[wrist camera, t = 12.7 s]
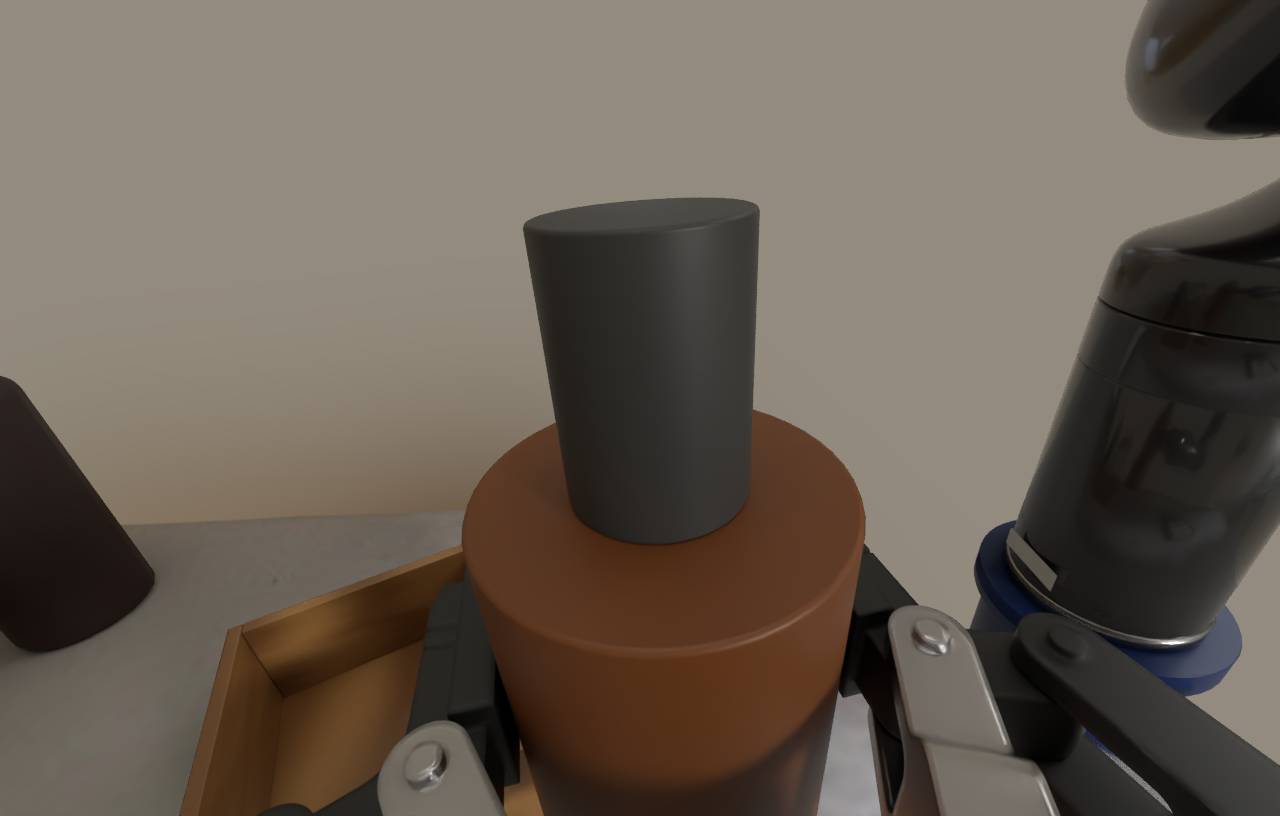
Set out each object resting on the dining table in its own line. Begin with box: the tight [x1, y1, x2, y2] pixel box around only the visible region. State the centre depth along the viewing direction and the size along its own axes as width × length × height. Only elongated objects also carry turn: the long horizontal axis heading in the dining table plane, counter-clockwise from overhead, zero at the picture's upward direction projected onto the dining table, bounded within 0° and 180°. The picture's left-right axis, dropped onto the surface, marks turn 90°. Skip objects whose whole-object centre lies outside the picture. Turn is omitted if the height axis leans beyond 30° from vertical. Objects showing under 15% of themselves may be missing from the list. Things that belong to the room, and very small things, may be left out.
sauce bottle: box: [462, 198, 866, 816], centre depth 10 cm, size 6×6×18 cm
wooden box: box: [179, 545, 544, 816], centre depth 23 cm, size 12×12×6 cm
